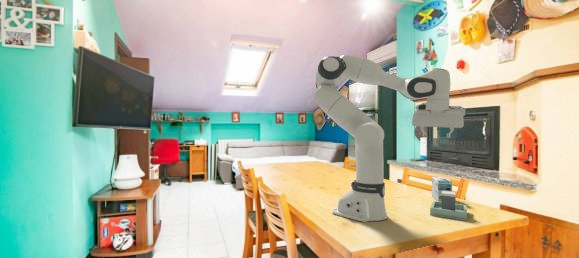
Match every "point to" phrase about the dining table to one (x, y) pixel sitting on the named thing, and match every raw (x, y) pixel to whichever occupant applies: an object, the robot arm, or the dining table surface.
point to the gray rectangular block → (448, 200)
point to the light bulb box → (440, 187)
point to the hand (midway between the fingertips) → (436, 137)
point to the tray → (449, 211)
